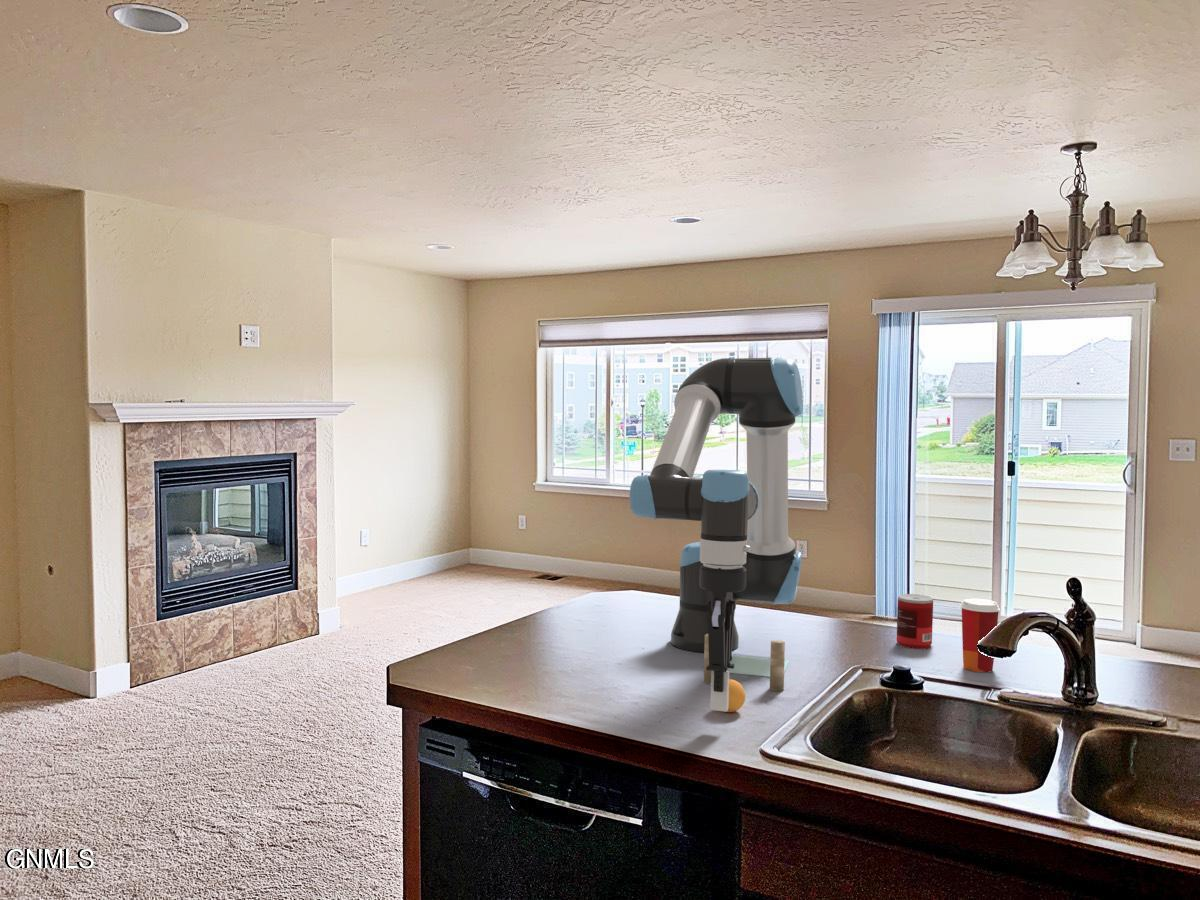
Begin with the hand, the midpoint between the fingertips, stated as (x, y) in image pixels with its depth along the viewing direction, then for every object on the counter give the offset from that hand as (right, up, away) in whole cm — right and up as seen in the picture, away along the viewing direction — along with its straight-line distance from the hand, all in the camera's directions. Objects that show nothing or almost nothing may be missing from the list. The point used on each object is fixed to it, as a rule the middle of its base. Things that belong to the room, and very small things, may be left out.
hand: (719, 709), depth 144 cm
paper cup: (+59, -3, +40) cm, 71 cm away
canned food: (+52, -3, +59) cm, 79 cm away
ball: (+3, 0, +9) cm, 10 cm away
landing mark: (+12, -2, +38) cm, 40 cm away
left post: (+2, -3, +27) cm, 27 cm away
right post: (+14, -3, +23) cm, 27 cm away
